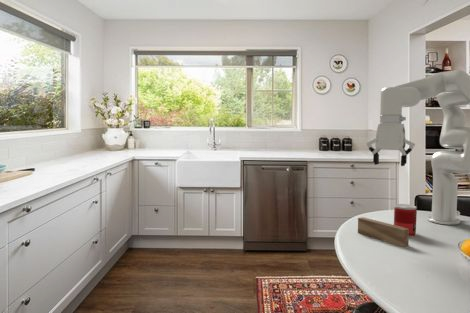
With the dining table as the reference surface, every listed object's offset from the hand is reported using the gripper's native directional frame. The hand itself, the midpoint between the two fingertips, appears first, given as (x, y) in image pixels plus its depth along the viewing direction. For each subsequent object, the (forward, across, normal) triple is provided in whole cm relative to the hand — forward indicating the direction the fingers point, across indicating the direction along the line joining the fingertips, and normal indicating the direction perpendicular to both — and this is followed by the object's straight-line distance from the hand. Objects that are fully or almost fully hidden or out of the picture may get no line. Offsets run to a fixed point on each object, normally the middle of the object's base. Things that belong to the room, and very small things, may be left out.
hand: (389, 165), depth 139 cm
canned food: (+28, -4, -7) cm, 29 cm away
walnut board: (+28, 0, +6) cm, 28 cm away
